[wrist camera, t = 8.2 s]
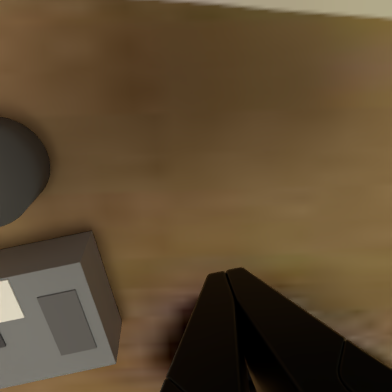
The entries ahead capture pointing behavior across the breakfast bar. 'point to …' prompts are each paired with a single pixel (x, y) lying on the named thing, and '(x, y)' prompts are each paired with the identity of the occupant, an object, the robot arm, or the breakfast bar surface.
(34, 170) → the coil
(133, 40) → the breakfast bar surface
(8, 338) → the grey flat block
